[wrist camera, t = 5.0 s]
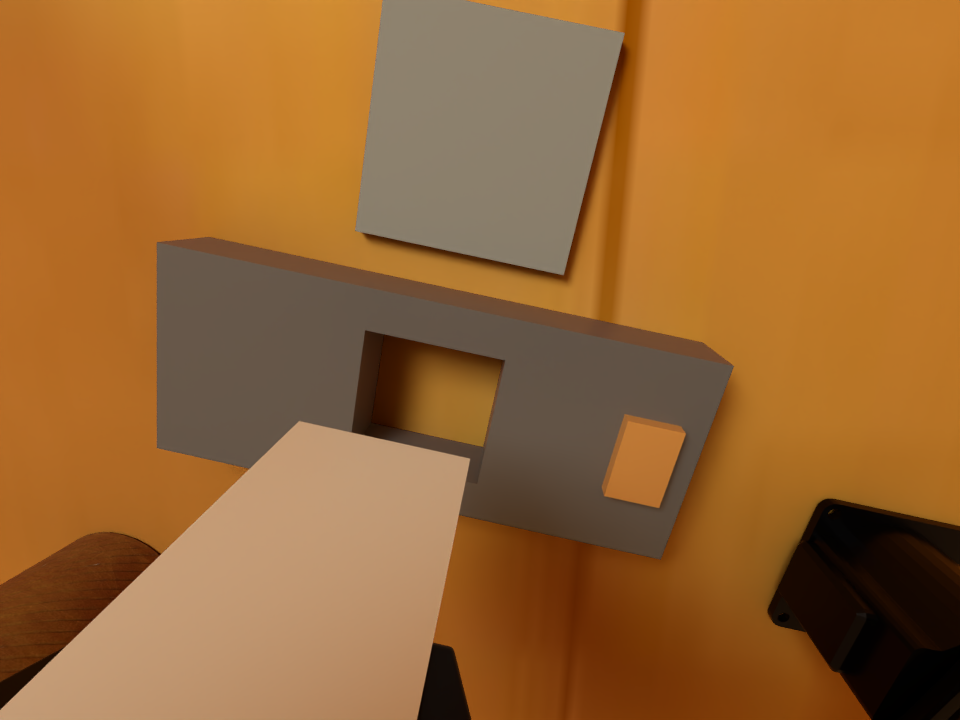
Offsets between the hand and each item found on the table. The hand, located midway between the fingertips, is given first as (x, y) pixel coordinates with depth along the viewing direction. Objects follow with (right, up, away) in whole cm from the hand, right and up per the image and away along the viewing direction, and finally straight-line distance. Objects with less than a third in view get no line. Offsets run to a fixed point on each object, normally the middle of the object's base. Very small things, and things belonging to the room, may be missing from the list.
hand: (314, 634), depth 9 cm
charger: (0, +1, +3) cm, 4 cm away
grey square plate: (+3, +13, +9) cm, 16 cm away
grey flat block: (+1, +4, +12) cm, 13 cm away
